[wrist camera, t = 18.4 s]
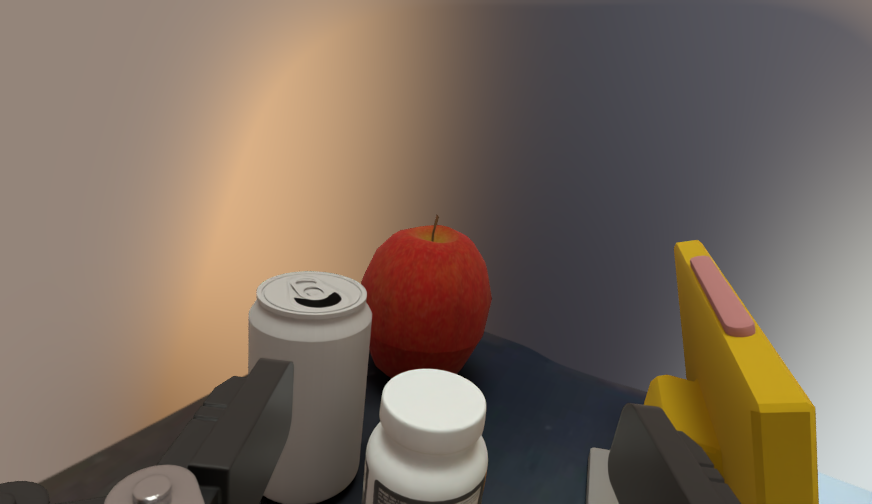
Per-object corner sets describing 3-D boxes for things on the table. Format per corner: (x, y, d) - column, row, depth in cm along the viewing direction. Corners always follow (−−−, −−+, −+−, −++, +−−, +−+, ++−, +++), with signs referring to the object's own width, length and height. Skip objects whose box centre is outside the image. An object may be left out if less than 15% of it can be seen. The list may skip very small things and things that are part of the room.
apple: (392, 334, 47) (407, 191, 43) (492, 367, 44) (519, 215, 40) (327, 386, 38) (338, 212, 34) (446, 434, 35) (476, 246, 30)
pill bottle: (491, 575, 25) (526, 409, 22) (400, 648, 21) (427, 460, 18) (420, 501, 29) (442, 350, 26) (333, 550, 25) (346, 382, 22)
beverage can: (267, 533, 26) (271, 326, 22) (235, 454, 31) (234, 273, 27) (376, 489, 29) (396, 304, 26) (332, 425, 34) (343, 262, 30)
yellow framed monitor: (792, 796, 18) (999, 443, 13) (574, 700, 20) (681, 363, 15) (700, 451, 36) (772, 248, 31) (590, 419, 38) (641, 224, 33)
